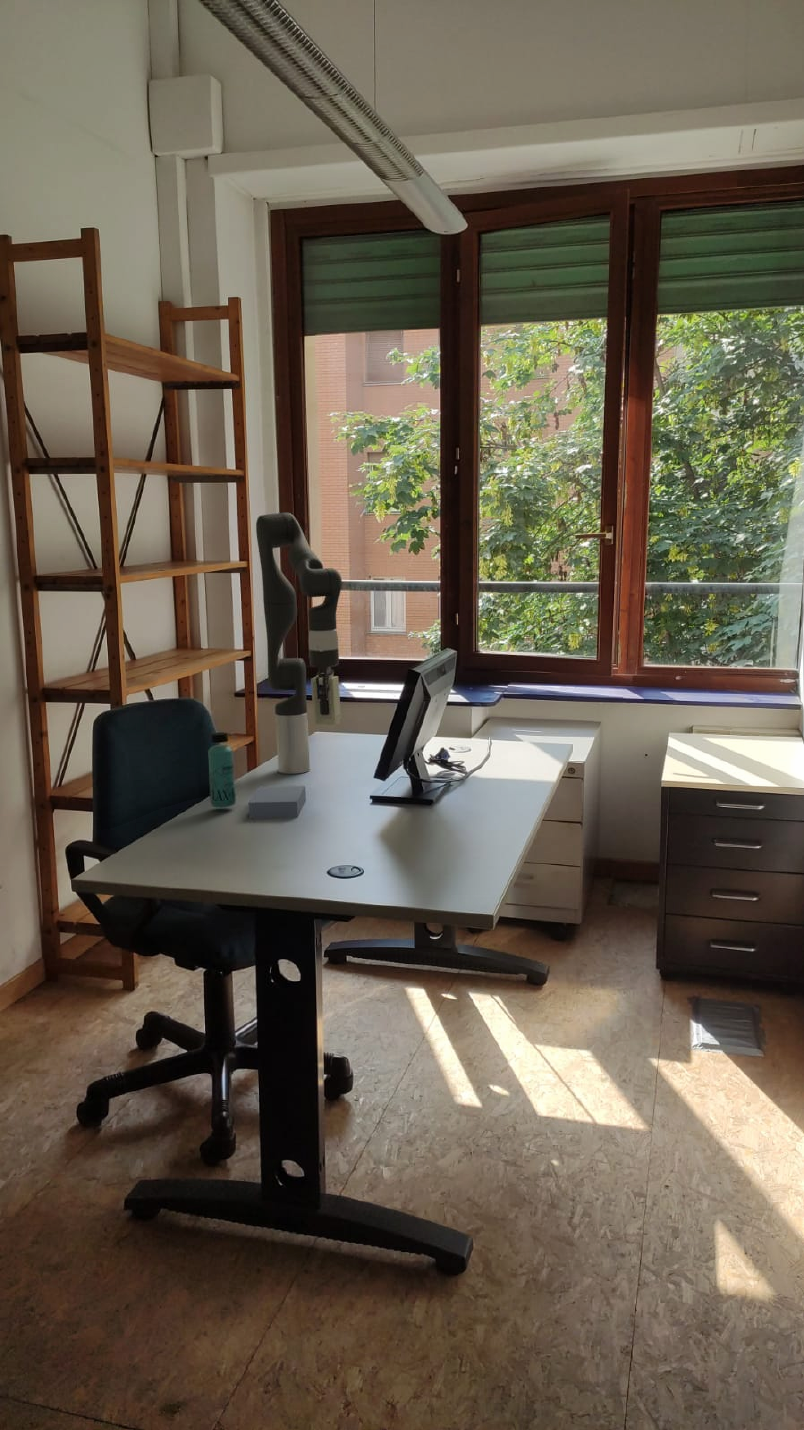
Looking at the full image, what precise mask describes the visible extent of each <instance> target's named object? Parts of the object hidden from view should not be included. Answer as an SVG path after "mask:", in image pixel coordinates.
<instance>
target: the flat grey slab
mask: <svg viewBox="0 0 804 1430" xmlns="http://www.w3.org/2000/svg"><path fill="white" fill-rule="evenodd" d="M306 794H307V793H306V785H288V786H287V785H281V786H279V785H278V786H273V785H272V786H258V788H257V790H256V791H255V793H254V794H253V795H252V797H251V798H250V800H249V801H248V805H247V806H248V818H249V820H251V819H288V818H290V819H292V818H293V819H295V818H296V819H297V818H298V817H299V815H300V813H301V812H302V810H303V808H304V806H305V805H306V802H307V795H306Z"/></svg>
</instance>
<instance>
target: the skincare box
mask: <svg viewBox="0 0 804 1430" xmlns="http://www.w3.org/2000/svg"><path fill="white" fill-rule="evenodd" d="M310 683H311V686H310V687H311V698H312V700H311V701H312V714H313V725H319V726H321V725H322V726H323V725H324V726H336V725H338V724H340V723H341V722H342V714H341V713H342V712H341V698H340V685H339V676H337V675H335V676H334V677H332V678H331V679H328V683H329V684H330V689H331V690H330V691H329V714H328V715H321V714H320V701H319V699H318V698H317V686H316V676H314V677H313V678H310ZM327 688H328V684H327ZM321 694H325V691H324V692H322V693H321Z"/></svg>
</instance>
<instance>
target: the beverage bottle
mask: <svg viewBox="0 0 804 1430" xmlns="http://www.w3.org/2000/svg"><path fill="white" fill-rule="evenodd" d="M228 741H229V736H228V733H227V732H224V731H223V732H222V731H220V732H214V733H212V734H211V743H213V744H216V745H213V746H211V747H210V748H209V749H207V753H208V755H207V757H208V768H209V769H208V771H209V772H208V773H209V774H208V775H209V776H208V778H209V781H208V782H209V798H210V801H209V802H210V804H211V806H212V807H213V808H229V807H232V806H234V805H235V804H236V801H237V800H236V796H237V794H236V787H235V764H234V754H233V753H234V750H233V749H232V747H231V746H229V745H228V744H221V743H227V742H228ZM217 744H218V745H217Z"/></svg>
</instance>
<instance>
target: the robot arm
mask: <svg viewBox="0 0 804 1430" xmlns="http://www.w3.org/2000/svg"><path fill="white" fill-rule="evenodd" d="M256 519H257V520H256V523H255V524H256V525H255V532H256V541H257V547H258V553H259V554H258V555H259V560H260V566H261V577H262V578H261V579H262V582H261V583H262V596H263V597H262V602H263V611H264V621H265V629H266V641H267V646H266V647H267V677H268V679H267V680H268V685H269V688H270V689H271V690H273V691H295V692H294V694H293V695H292V696H290V697H288V698H287V699H285V700H282V701H279V702H277V703H276V704H275V706H274V713H275V729H276V730H275V732H276V747H277V748H276V749H277V766H278V767H277V768H278V772H279V773H281V774H287V775H288V774H289V775H292V774H302V773H306V772H309V771H310V770H311V765H310V763H311V762H310V744H309V727H308V726H309V723H308V707H307V666H306V662H305V660H304V658H300V657H292V658H291V657H288V658H285V657H284V658H279V653H280V650H281V648H282V645H283V642H284V640H285V639H286V637H287V636H288V634H289V632H290V630H291V629H292V627H293V625H294V624H295V622H296V620H297V616H298V606H297V605H298V604H297V595H296V594H297V593H296V590H295V588H294V587H293V585H292V584H291V582H290V580H288V579H287V577H286V576H285V575H284V573H283V572H282V570H281V569H280V567H279V566H278V564H277V562H276V560H275V555H274V549H277V548H285V547H289V546H291V547H290V549H289V551H288V562H289V565H290V567H291V568H292V570H293V571H294V572H295V574H296V575H297V577H298V581H299V588H300V591H301V593H302V594H303V595H304V596H306V597H308V598H320V597H324V600H323V601H322V603H321V604H319V605H315V606H312V607H310V608H309V610H308V616H307V617H308V655H309V659H308V660H309V665H310V667H312V668H318V672H317V673H316V676H315V677H316V686H317V698H318V699H319V701H320V714H321V715H328V714H329V691H330V690H331V689H330V684H329V683H328V679H331V678H332V677H334V673H335V671H334V669H332V667H337V666H339V664H340V656H339V655H340V653H339V637H338V630H337V629H338V628H337V608H338V605H339V600H340V595H341V590H342V584H343V581H342V576H341V574H340V572H339V571H338V570H337V569H336V568H333V567H331V568H330V567H329V568H328V567H327V568H325V567H324V566H323V562H322V560H320V557H318V556H317V554H316V553H315V552H314V551H313V549H312V548H311V547H310V545H309V543H308V540H307V539H306V536H305V534H304V532H303V529H302V527H301V526H300V525H301V524H299V521H298V520H297V518H296V516H294V514H292V513H290V512H276V513H269V514H262V515H260V516H258V517H257V518H256ZM327 684H328V688H327ZM324 691H325V694H321V693H322V692H324Z"/></svg>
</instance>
